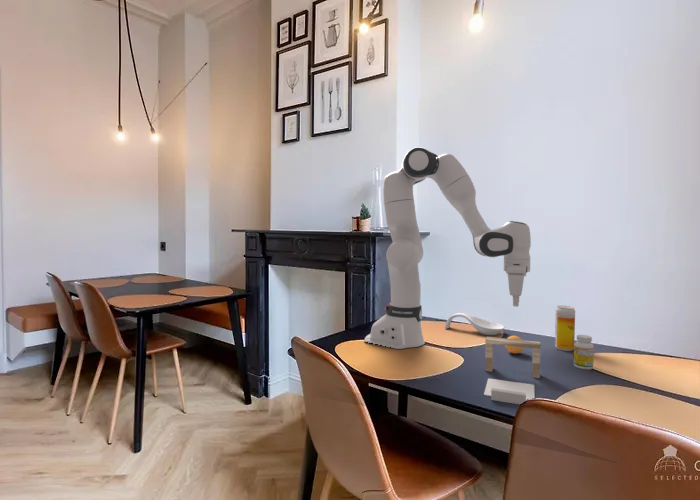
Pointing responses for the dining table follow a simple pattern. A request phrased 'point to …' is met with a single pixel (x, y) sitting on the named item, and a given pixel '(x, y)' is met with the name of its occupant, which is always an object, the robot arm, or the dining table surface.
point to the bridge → (512, 342)
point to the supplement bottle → (583, 352)
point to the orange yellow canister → (565, 328)
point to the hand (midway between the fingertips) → (516, 304)
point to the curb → (508, 396)
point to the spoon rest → (478, 324)
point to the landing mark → (510, 387)
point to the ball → (514, 348)
